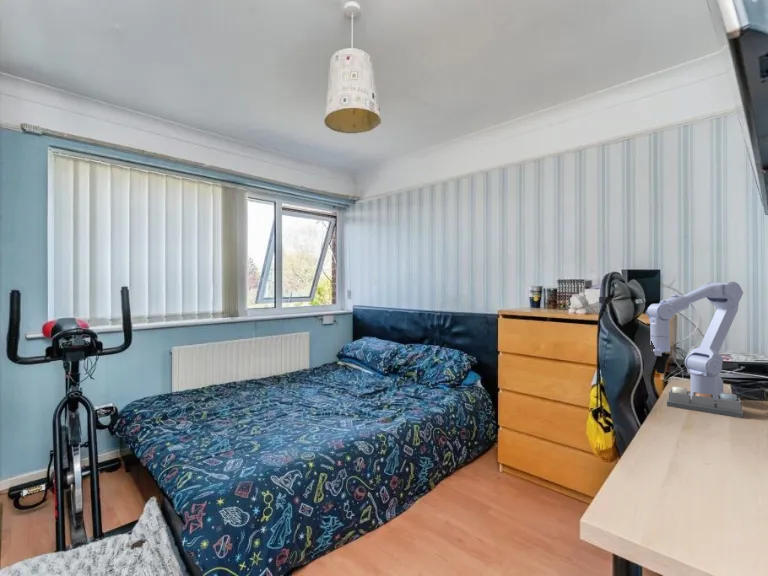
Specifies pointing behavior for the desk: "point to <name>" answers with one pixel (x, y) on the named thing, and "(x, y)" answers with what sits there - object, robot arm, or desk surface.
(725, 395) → the bluegrey button
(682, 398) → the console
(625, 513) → the desk surface
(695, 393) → the terracotta button
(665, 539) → the desk surface
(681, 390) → the cream button
